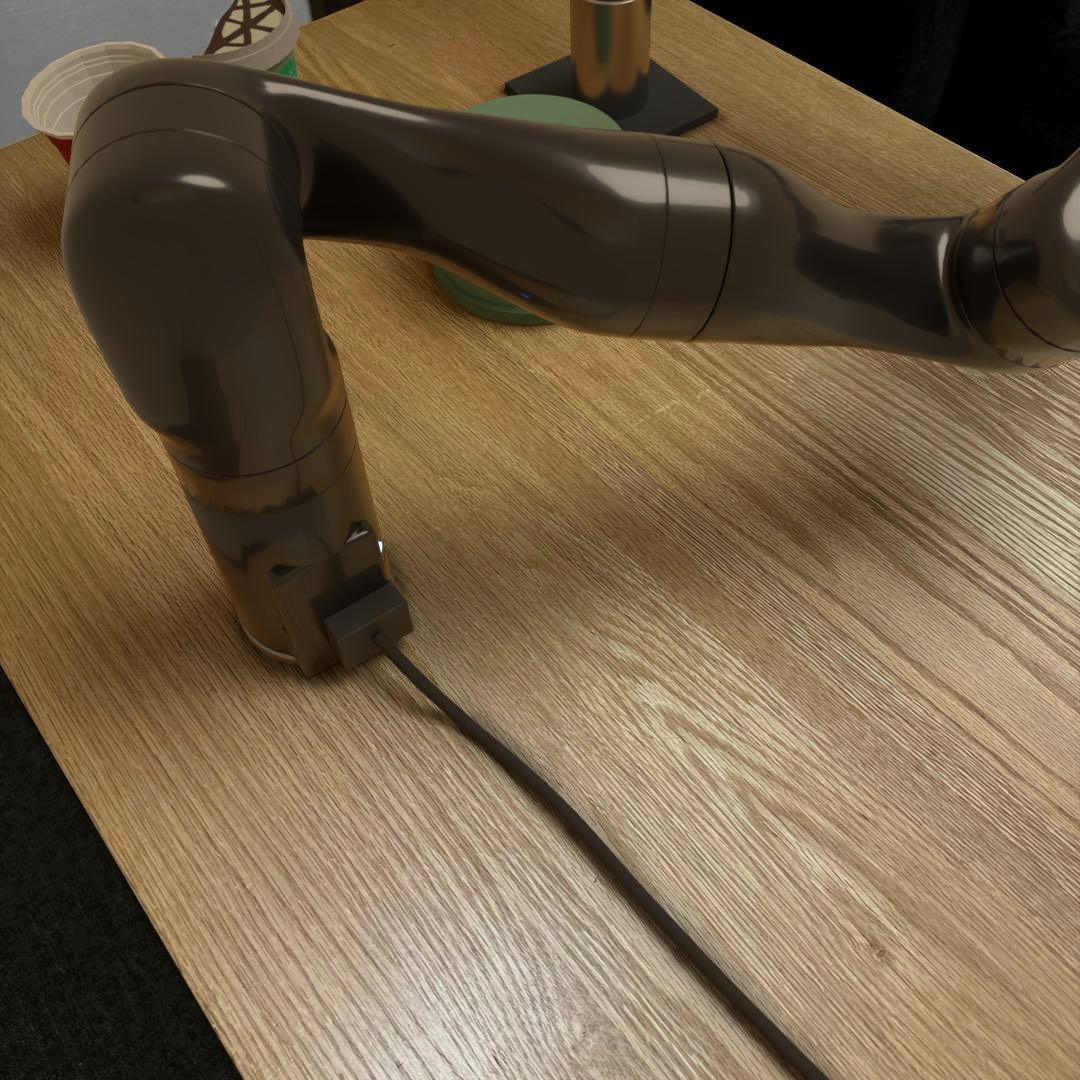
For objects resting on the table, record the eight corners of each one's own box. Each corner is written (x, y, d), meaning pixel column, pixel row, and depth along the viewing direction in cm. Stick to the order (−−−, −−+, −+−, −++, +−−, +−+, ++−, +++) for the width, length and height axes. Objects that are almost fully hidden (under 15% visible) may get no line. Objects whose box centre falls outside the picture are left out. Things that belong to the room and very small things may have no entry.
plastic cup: (61, 202, 95) (0, 66, 86) (190, 160, 98) (146, 23, 88) (96, 282, 90) (35, 145, 80) (232, 235, 92) (190, 97, 82)
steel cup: (663, 103, 99) (669, -14, 91) (598, 129, 97) (598, 12, 89) (620, 66, 102) (622, -49, 94) (557, 91, 100) (553, -25, 92)
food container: (295, 176, 96) (268, 63, 88) (222, 171, 97) (189, 59, 89) (334, 88, 103) (312, -24, 95) (266, 84, 104) (239, -28, 96)
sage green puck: (676, 268, 88) (683, 165, 81) (504, 356, 83) (496, 255, 76) (558, 167, 96) (555, 64, 88) (395, 242, 91) (378, 140, 84)
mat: (718, 116, 99) (718, 108, 98) (601, 171, 95) (601, 163, 94) (617, 42, 106) (617, 34, 105) (504, 90, 102) (504, 82, 102)
